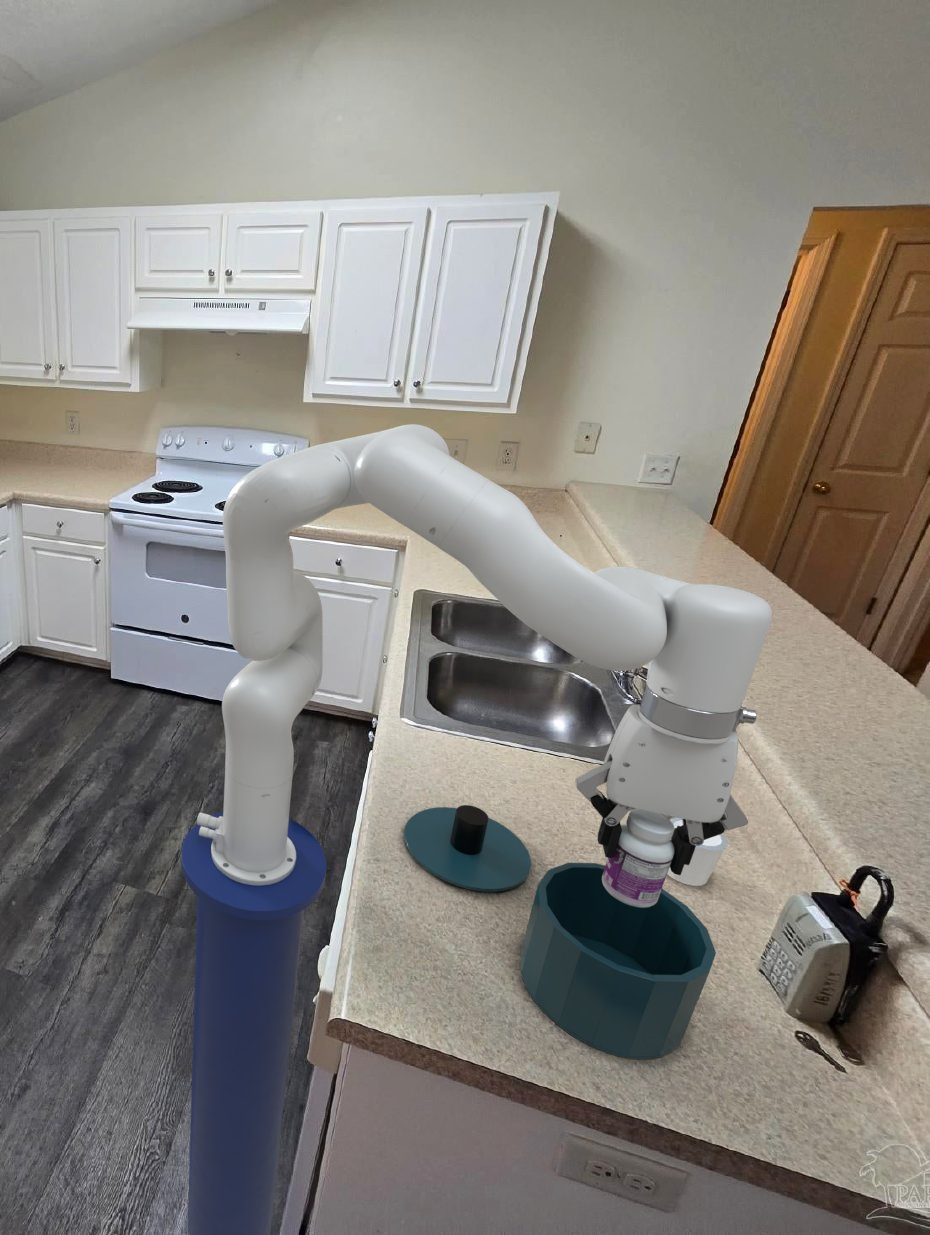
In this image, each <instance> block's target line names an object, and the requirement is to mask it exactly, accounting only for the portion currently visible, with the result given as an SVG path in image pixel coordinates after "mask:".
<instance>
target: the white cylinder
mask: <svg viewBox="0 0 930 1235" xmlns="http://www.w3.org/2000/svg"><path fill="white" fill-rule="evenodd" d="M669 820H670V821H671V822H672V824H673V826H674V829H675V828H677V826H682V825H683V822H682V818H677V817H672V818H670V819H669ZM673 832H674V831H673ZM672 835H673V834H672ZM670 840H671V839H670ZM728 844H729V843H728V840H727V838H726V836H725V835H724V833H722V834H720V835H717V836H714V837H711V838H709V839H706V840H704V843H703V844H702V845H700V846H696V847H695V850H694V853H693V856H692V859H691V861H690V864H689V865H685V864H684V867H683V870H682V873H681V875H677V874H674V873H673V872H671V869H670V867H669V870H668V873H667V876H668V877H670V878H671V879H673V880H674V881H676V882H679V883H681V884H683V885H687V886H691V887H702V886H705V885H706V884H707V882H708V880H709V879H710V877H711V875H712V873H713V872H714V869H715V868H716V866H717V864H718V862H719V861H720V859H721V857H722V855H723V853H724V852H725V851H726V850H725V849H726V848H727V846H728Z"/></svg>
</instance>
